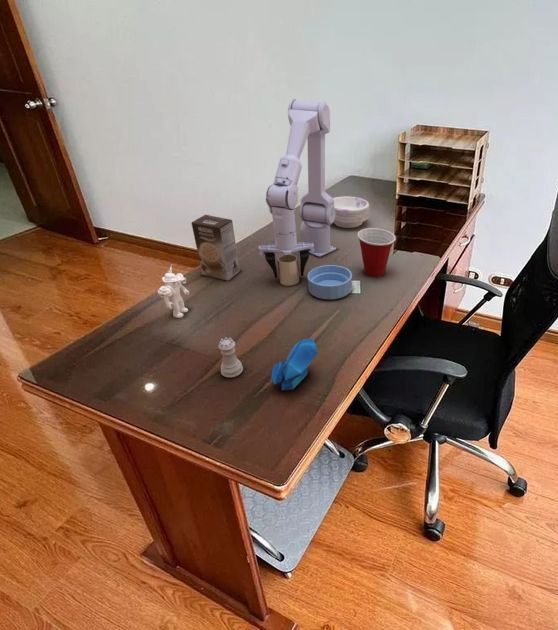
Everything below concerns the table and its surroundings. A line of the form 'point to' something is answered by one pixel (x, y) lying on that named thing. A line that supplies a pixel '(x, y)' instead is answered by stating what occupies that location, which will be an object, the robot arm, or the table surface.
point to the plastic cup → (375, 249)
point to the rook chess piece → (229, 359)
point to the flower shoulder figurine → (174, 292)
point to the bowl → (329, 282)
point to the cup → (288, 269)
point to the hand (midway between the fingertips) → (289, 275)
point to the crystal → (294, 365)
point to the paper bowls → (350, 211)
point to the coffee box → (216, 246)
